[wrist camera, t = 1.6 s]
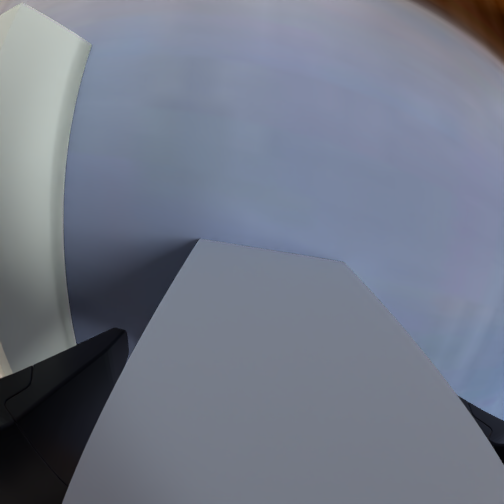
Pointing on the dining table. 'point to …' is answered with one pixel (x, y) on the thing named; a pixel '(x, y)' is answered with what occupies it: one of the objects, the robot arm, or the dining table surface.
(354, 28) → the dining table surface
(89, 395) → the robot arm
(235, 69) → the dining table surface
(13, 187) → the divided tray
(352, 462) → the plain light gray block
